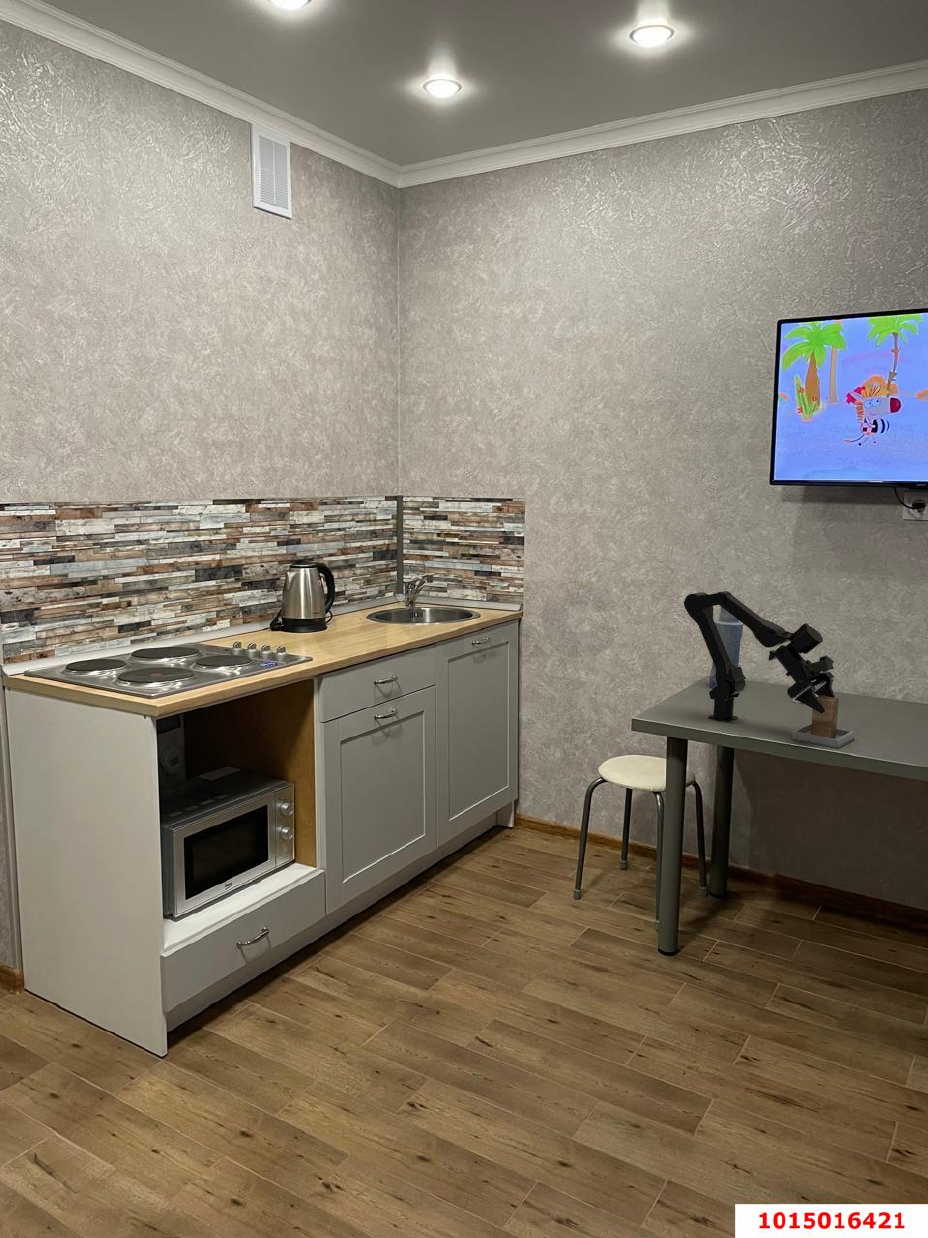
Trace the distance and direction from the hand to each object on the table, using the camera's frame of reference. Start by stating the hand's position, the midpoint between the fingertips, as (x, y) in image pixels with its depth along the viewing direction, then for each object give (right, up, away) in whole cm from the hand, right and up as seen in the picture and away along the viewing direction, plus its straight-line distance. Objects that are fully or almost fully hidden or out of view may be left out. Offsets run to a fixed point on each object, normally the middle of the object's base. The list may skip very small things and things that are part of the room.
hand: (830, 709), depth 253 cm
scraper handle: (-1, -8, +2) cm, 8 cm away
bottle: (-11, +1, +65) cm, 66 cm away
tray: (-1, -8, +2) cm, 9 cm away
